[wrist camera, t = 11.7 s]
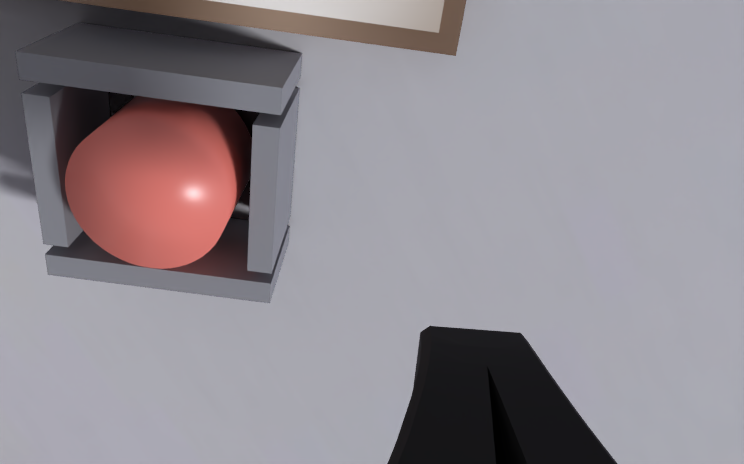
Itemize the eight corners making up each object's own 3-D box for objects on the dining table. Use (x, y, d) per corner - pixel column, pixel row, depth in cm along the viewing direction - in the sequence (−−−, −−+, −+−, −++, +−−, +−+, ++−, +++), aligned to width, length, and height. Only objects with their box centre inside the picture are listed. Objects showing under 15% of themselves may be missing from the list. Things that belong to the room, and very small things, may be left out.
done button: (256, 93, 16) (228, 135, 13) (251, 218, 18) (225, 277, 15) (113, 73, 16) (56, 112, 13) (122, 201, 18) (73, 258, 15)
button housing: (302, 53, 16) (282, 88, 13) (288, 243, 19) (269, 303, 16) (79, 22, 16) (14, 51, 13) (97, 218, 19) (48, 274, 16)
